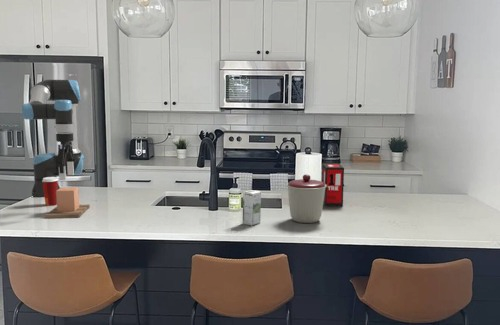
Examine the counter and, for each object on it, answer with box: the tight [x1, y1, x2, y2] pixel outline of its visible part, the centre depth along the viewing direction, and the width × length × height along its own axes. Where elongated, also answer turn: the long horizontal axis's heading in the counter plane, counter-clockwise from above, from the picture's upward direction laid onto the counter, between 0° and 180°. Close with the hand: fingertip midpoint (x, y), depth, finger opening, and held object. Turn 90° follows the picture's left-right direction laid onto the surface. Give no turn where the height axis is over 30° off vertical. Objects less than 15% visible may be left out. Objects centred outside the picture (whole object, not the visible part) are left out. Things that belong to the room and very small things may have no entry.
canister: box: [285, 174, 327, 224], centre depth 206 cm, size 18×18×21 cm
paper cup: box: [42, 176, 59, 207], centre depth 236 cm, size 8×8×14 cm
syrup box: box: [242, 189, 262, 227], centre depth 201 cm, size 6×6×14 cm
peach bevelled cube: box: [56, 186, 80, 212], centre depth 220 cm, size 8×8×10 cm
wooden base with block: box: [44, 203, 90, 219], centre depth 220 cm, size 20×15×10 cm
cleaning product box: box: [321, 162, 345, 207], centre depth 242 cm, size 16×9×20 cm, turn 179°
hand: (66, 177), depth 218 cm, fingers open, 13 cm apart
